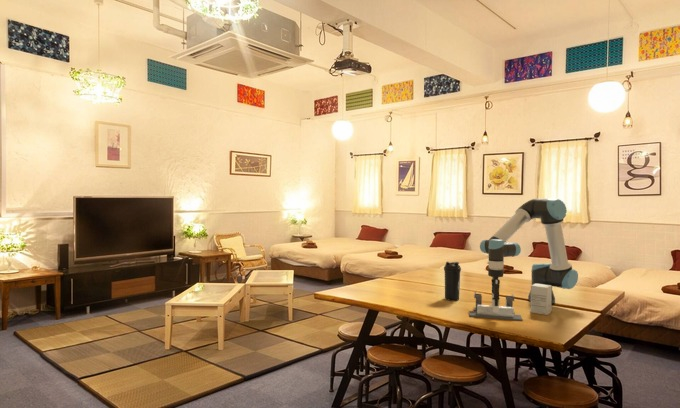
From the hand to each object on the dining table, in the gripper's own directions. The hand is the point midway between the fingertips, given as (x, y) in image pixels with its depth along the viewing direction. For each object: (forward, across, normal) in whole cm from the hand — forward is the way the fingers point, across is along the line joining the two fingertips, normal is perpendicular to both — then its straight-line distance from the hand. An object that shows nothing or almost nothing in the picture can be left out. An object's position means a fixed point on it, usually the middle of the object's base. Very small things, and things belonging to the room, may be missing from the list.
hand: (495, 309), depth 233 cm
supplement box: (+4, -18, +25) cm, 31 cm away
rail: (+3, 0, 0) cm, 3 cm away
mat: (+4, 0, 0) cm, 4 cm away
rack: (+4, -12, 0) cm, 13 cm away
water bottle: (+4, -35, -23) cm, 42 cm away
